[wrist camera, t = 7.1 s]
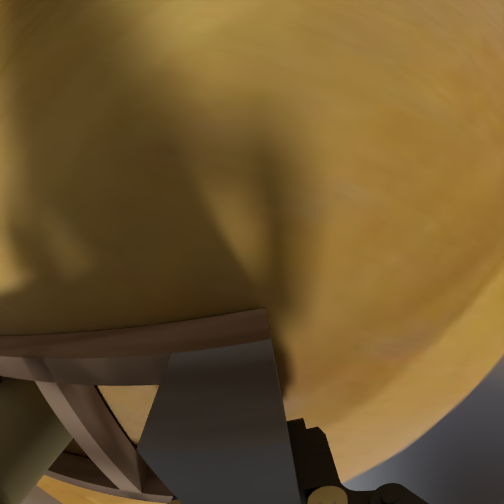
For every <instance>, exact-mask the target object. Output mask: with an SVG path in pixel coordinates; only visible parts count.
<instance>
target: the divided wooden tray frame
mask: <svg viewBox="0 0 504 504" xmlns="http://www.w3.org/2000/svg"><path fill="white" fill-rule="evenodd" d="M0 376H4V377H11V378H17V379H24V380H32V381H35V382H36V384H37V386H38V387H39V389H40V391H41V392H42V394H43V395H44V397H45V399H46V400H47V402H48V403H49V405H50V406H51V408H52V409H53V411H54V412H55V414H56V415H57V417H58V418H59V420H60V421H61V422H62V424H63V425H64V426H65V428H66V429H67V430H68V432H69V433H70V434H71V436H72V437H73V438H74V440H75V441H76V442H77V443H78V445H79V446H80V447H81V448H82V449H83V451H84V452H85V453H86V454H87V455H88V456H89V458H90V459H89V458H85V457H80V456H76V455H72V454H68V453H64V452H62V453H61V454H60V455H59V456H58V458H57V459H56V460H55V461H54V463H53V464H52V465H51V466H50V467H49V469H48V470H47V471H46V472H45V474H44V475H46V476H49V477H52V478H55V479H57V480H60V481H63V482H66V483H69V484H72V485H76V486H79V487H82V488H86V489H90V490H93V491H97V492H101V493H106V494H110V495H115V496H120V497H125V498H130V499H136V500H143V501H150V502H159V503H168V502H170V501H171V500H172V498H173V494H174V495H175V496H176V497H177V498H178V499H179V500H180V501H181V502H182V503H183V504H301V501H300V495H299V489H298V484H297V478H296V473H295V467H294V461H293V456H292V450H291V444H290V439H289V433H288V428H287V422H286V416H285V411H284V405H283V400H282V394H281V389H280V383H279V378H278V373H277V367H276V362H275V356H274V351H273V346H272V340H271V335H270V330H269V324H268V319H267V313H266V308H260V309H255V310H249V311H243V312H237V313H232V314H226V315H219V316H213V317H207V318H200V319H194V320H187V321H180V322H172V323H165V324H157V325H149V326H140V327H132V328H122V329H113V330H102V331H91V332H78V333H64V334H48V335H26V336H0ZM94 385H105V386H132V385H159V388H158V391H157V393H156V396H155V399H154V402H153V404H152V407H151V410H150V412H149V415H148V418H147V421H146V424H145V426H144V429H143V432H142V435H141V438H140V441H139V444H138V447H137V449H136V450H137V451H138V452H137V451H136V450H135V448H134V447H133V446H132V444H131V443H130V442H129V440H128V439H127V437H126V436H125V435H124V433H123V432H122V430H121V429H120V427H119V426H118V424H117V423H116V421H115V420H114V418H113V417H112V415H111V414H110V412H109V410H108V409H107V407H106V406H105V404H104V402H103V401H102V399H101V397H100V396H99V394H98V392H97V390H96V389H95V387H94ZM138 453H139V454H140V455H141V456H140V455H139V454H138ZM141 457H142V458H143V459H144V460H145V461H144V460H143V459H142V458H141ZM145 462H146V463H147V464H148V465H149V466H148V465H147V464H146V463H145Z"/></svg>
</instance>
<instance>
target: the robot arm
mask: <svg viewBox="0 0 504 504" xmlns="http://www.w3.org/2000/svg"><path fill="white" fill-rule="evenodd" d="M286 422H287V428H288V433H289V439H290V444H291V450H292V456H293V461H294V467H295V473H296V478H297V484H298V489H299V495H300V501H301V504H428V503H427V502H425V501H424V500H422V499H421V498H419V497H418V496H416V495H415V494H414V493H412V492H411V491H409V490H408V489H407V488H405V487H404V486H402V485H400V484H396V483H389V484H385V485H382V486H380V487H379V488H377V489H376V490H373V491H353V490H349V489H347V488H346V487H344V486H343V485H342V484H341V482H340V480H339V477H338V474H337V470H336V467H335V464H334V461H333V457H332V454H331V451H330V448H329V445H328V441H327V438H326V435H325V433H324V432H323V431H322V430H321V429H320V428H319V427H314V428H309V429H306V427H305V423H304V419H303V418H300V419H295V420H290V421H286ZM167 504H183V503H182V502H181V501H180V500H179V499H178V498H177V497H176V496H175V495H174V494H173V498H172V500H171V501H170V502H168V503H167Z"/></svg>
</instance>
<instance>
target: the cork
mask: <svg viewBox="0 0 504 504" xmlns="http://www.w3.org/2000/svg"><path fill="white" fill-rule="evenodd" d="M72 439H73V437H72V436H71V434H70V433H69V432H68V430H67V429H66V428H65V426H64V425H63V424H62V422H61V421H60V420H59V418H58V417H57V415H56V414H55V412H54V411H53V409H52V408H51V406H50V405H49V403H48V402H47V400H46V399H45V397H44V395H43V394H42V392H41V391H40V389H39V387H38V386H37V384H36V382H35V381H32V380H24V379H17V378H11V377H4V379H3V380H2V381H1V383H0V504H21V503H22V502H23V500H24V499H25V498H26V497H27V495H28V494H29V492H30V491H31V490H32V489H33V488H34V486H35V485H36V484H37V483H38V481H39V480H40V479H41V477H42V476H43V475H44V474H45V472H46V471H47V470H48V469H49V467H50V466H51V465H52V464H53V463H54V461H55V460H56V459H57V458H58V456H59V455H60V454H61V453H62V451H63V450H64V449H65V448H66V446H67V445H68V444H69V443H70V442H71V440H72Z"/></svg>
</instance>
